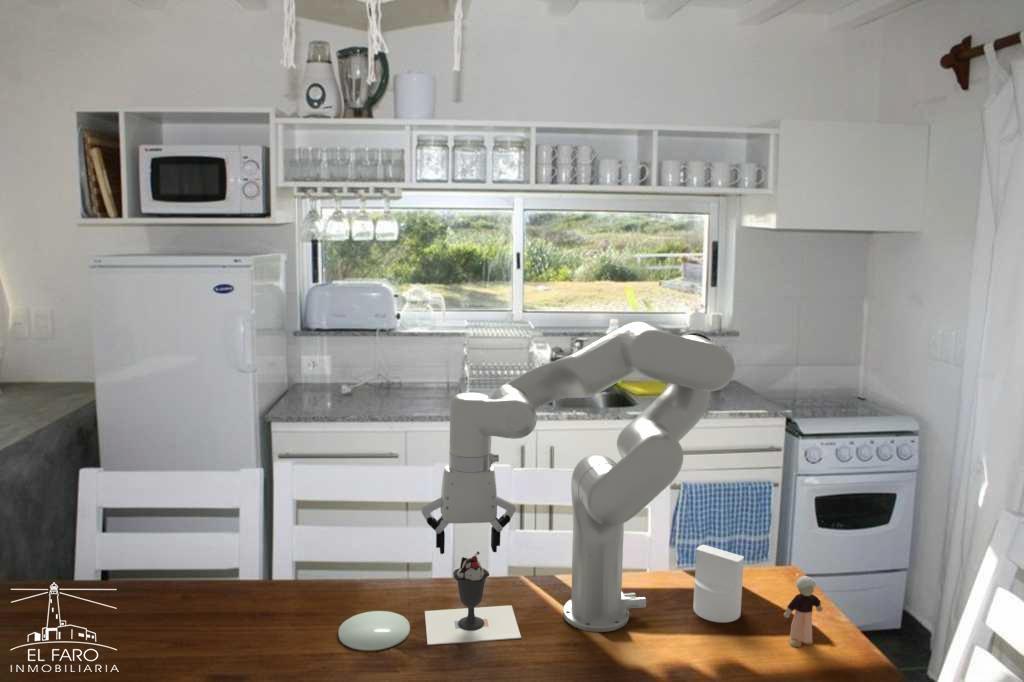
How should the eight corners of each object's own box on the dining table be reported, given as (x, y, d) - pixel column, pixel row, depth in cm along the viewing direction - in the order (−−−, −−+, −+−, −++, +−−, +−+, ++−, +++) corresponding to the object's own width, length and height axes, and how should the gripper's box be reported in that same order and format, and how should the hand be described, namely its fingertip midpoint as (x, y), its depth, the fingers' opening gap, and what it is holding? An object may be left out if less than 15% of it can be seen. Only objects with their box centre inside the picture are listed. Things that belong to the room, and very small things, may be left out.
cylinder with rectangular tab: (748, 609, 160) (752, 551, 158) (727, 627, 153) (731, 567, 151) (706, 595, 165) (709, 539, 163) (684, 611, 159) (687, 553, 157)
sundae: (484, 634, 149) (484, 557, 147) (449, 630, 151) (448, 554, 148) (492, 617, 156) (493, 543, 153) (458, 613, 157) (458, 539, 154)
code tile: (511, 606, 160) (511, 605, 160) (521, 638, 149) (521, 637, 148) (424, 612, 158) (424, 610, 158) (427, 645, 146) (427, 644, 146)
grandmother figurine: (795, 652, 145) (799, 585, 142) (778, 641, 148) (783, 576, 146) (825, 641, 148) (831, 576, 146) (809, 631, 151) (814, 567, 149)
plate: (409, 611, 158) (409, 608, 158) (410, 647, 145) (410, 644, 145) (340, 616, 156) (340, 613, 156) (336, 653, 143) (336, 650, 143)
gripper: (514, 454, 153) (511, 540, 155) (421, 455, 150) (420, 543, 153) (520, 467, 145) (517, 557, 148) (422, 468, 143) (421, 560, 146)
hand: (467, 550), depth 150 cm, fingers open, 9 cm apart
